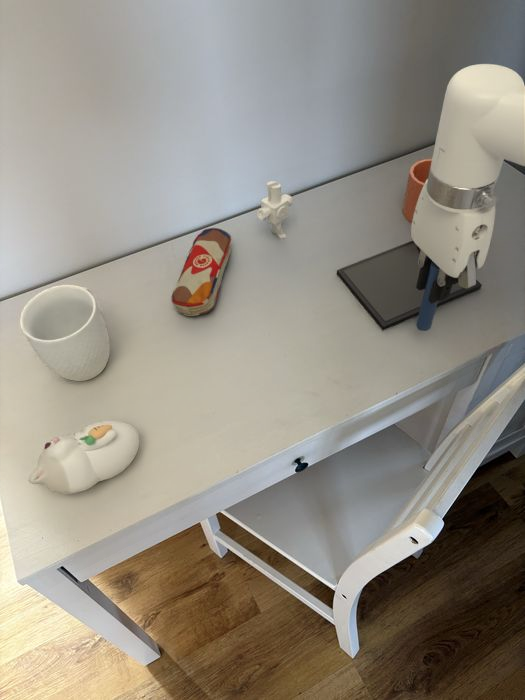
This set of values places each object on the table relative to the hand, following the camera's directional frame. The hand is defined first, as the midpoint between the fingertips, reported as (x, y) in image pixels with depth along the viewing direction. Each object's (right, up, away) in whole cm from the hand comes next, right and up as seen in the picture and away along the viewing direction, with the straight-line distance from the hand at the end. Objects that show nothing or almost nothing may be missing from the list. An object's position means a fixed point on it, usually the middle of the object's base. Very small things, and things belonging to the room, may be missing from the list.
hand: (432, 291), depth 77 cm
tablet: (+1, +4, +18) cm, 19 cm away
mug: (-53, -10, +11) cm, 55 cm away
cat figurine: (-48, -25, -1) cm, 55 cm away
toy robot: (-22, +14, +27) cm, 37 cm away
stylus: (+1, -5, +6) cm, 8 cm away
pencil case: (-35, +4, +21) cm, 41 cm away
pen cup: (+8, +19, +29) cm, 36 cm away
